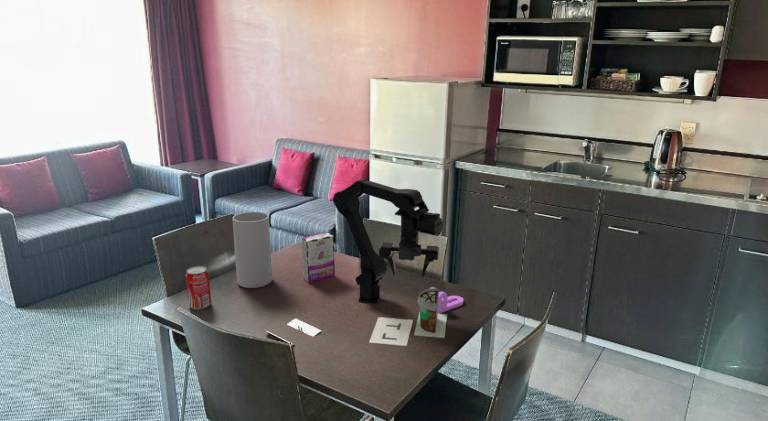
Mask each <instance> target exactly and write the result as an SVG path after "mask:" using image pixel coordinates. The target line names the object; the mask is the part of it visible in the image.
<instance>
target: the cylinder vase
mask: <svg viewBox="0 0 768 421" xmlns="http://www.w3.org/2000/svg"><path fill="white" fill-rule="evenodd" d="M232 227H233V231H232V232H233V240H234V241H233V242H234V243H233V244H234V257H235V269H236V270H235V271H236V272H235V273H236V283H237V285H238V286H240V287H242V288H244V289H245V288H246V289H257V288H258V289H259V288H263V287H265V286H268V285H269V284H271V283H272V281H273V272H272V271H273V270H272V252H271V251H272V250H271V248H272V247H271V232H270V216H269V214H268V213H266V212H262V211H246V212H241V213H236V214H235V215H233V216H232Z"/></svg>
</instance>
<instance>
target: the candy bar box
mask: <svg viewBox="0 0 768 421" xmlns="http://www.w3.org/2000/svg"><path fill="white" fill-rule="evenodd" d="M334 239H335V237H334V235H333V234H331V233H329V232H325V233H319V234H315V235H310V236H305V237H301V254H302V272H303V273H302V275H303V280H304V281H306V282H307V283H308V284H310V283H315V282H319V281H323V280H326V279H330V278H335V277H336V269H335V268H336V267H335V266H336V265H335V240H334Z"/></svg>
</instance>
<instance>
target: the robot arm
mask: <svg viewBox="0 0 768 421" xmlns="http://www.w3.org/2000/svg"><path fill="white" fill-rule="evenodd" d="M364 194H365V195H367V196H370V197H373V198H377V199H379V200H383V201H387V202H390V203H391V204H393V206H395V207H396V208H398V210H397V211H396V212H394V215H395V216H399V217H400V238H399V239H400V241H399V243H398V246H395V244H394V243H393V242H382V243H381V245H380V246H379V248H378V253H377V252H376V251H375V249H374V246H373V244H372V241H371V239H370V237H369V235H368V231H367V230H366V226H365V223H364V221H363V219H362V216H361V214H360V205H361V203H360V200H359V199H360V197H361V196H363V195H364ZM332 201H333V205H334V207H335V208H336V210H337V211H338V213H339V214H340V215H341V216H343V217H344V218H345V221H346V223H347V225H348V228H349V230H350V232H351V236H352V238H353V240H354V243H355V245H356V248H357V251H358V254H359V256H360V270H361V271H360V272H361V273H360V274H359V275H358V276H357V277H355V282H356V284H357V285H358V286H359V298H358V302H362V303H371V304H372V303H375V304H376V303H378V301H379V300H380V299H381V296H382V291H381V290H382V285H380V280H382V279H383V278H384V276H385V275H386V273H387V271H388V268H387V266H388V264H389V266H390V268H391V269H390V270H391V271H392V275H393V276H396V271H397V269H396V268H397V267H396V254H398V259H399V260H400V261H403V260H405V261H406V260H408V261H409V262H410V261H414V260H415V258H417V257H420V256H421V255H423V256H424V260H423V266H422V271H421V277H422V278H424V276H425V273H426V272H427V269H428V267H429V265H430V263H432V262H434V261H438V260H439V256H440V247H439V246H438V245H426V248H422V245H421V244H419V237H420V234H425V235H429V236H433V237H434V236H435V237H439V236H440V235H441V233H442V231H443V228H444V222H443V220H442V219H443V218H441V213H437V212H435V213H434V212H430V209H429V208H428V206H427V204H426V202H425V201H424V199H423V196H422V194H421V192H420V191H419V190H418V189H411V188H395V187H391V186H389V185H385V184H381V183H379V182H375V181H371V180H369V179H367V178H362V179H359V180H356V181H355V182H353V183H352V184H351V185H349V186H347V187H346V188H345V189H342V190H340V191H336V192H335V193H334V195H333V198H332ZM416 208H418V209H416ZM385 260H387V261H388V264H387V263H386V261H385Z"/></svg>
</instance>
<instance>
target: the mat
mask: <svg viewBox="0 0 768 421" xmlns="http://www.w3.org/2000/svg"><path fill="white" fill-rule="evenodd" d="M447 319H448V314H446V313H439V314H438V315H437V325H436V332H435V333H432V332H428V331H425V330H424V329H422V328H421V326H420V311H419V312H418V317H417V321H416V324H415V330H414V333H413V334H414V335H413V336H416V337H427V338H439V339H445V336H446V326H447Z"/></svg>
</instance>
